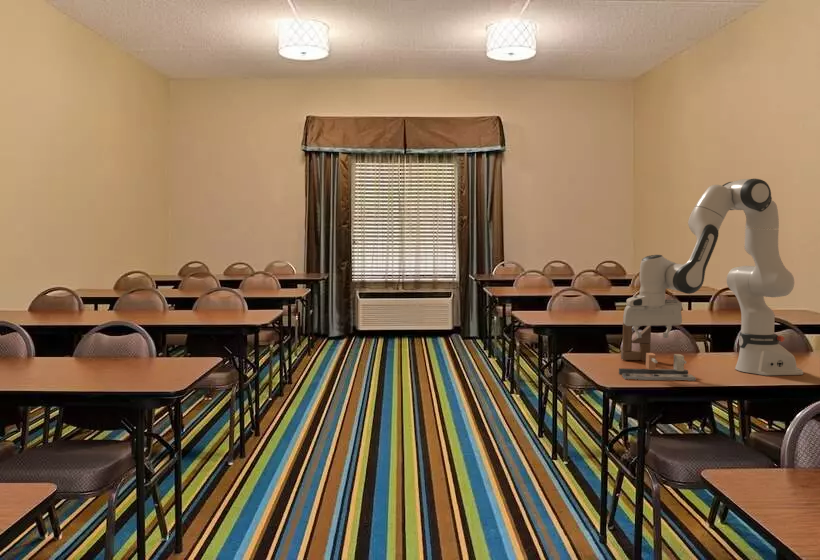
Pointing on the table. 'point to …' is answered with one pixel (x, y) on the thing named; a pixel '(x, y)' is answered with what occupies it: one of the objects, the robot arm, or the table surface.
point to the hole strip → (659, 376)
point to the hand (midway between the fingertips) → (652, 337)
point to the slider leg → (651, 361)
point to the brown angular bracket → (627, 342)
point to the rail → (677, 369)
